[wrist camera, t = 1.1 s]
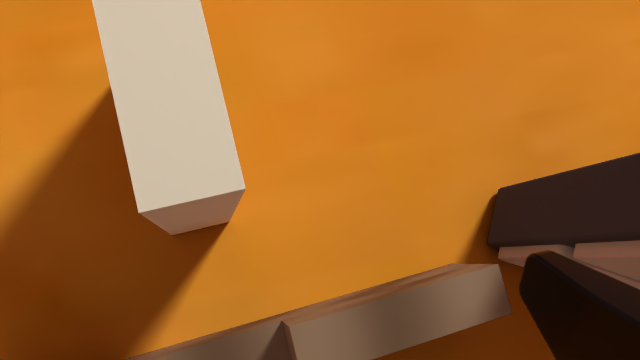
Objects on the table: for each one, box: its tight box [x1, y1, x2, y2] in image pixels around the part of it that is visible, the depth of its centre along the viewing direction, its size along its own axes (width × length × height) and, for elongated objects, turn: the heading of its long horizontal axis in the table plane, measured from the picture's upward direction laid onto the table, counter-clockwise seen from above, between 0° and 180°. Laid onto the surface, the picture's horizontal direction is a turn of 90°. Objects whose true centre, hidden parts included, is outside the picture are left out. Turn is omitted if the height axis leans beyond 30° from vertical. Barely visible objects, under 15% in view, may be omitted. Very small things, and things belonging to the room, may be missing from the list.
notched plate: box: [92, 0, 246, 235], centre depth 17 cm, size 8×2×10 cm, turn 15°
